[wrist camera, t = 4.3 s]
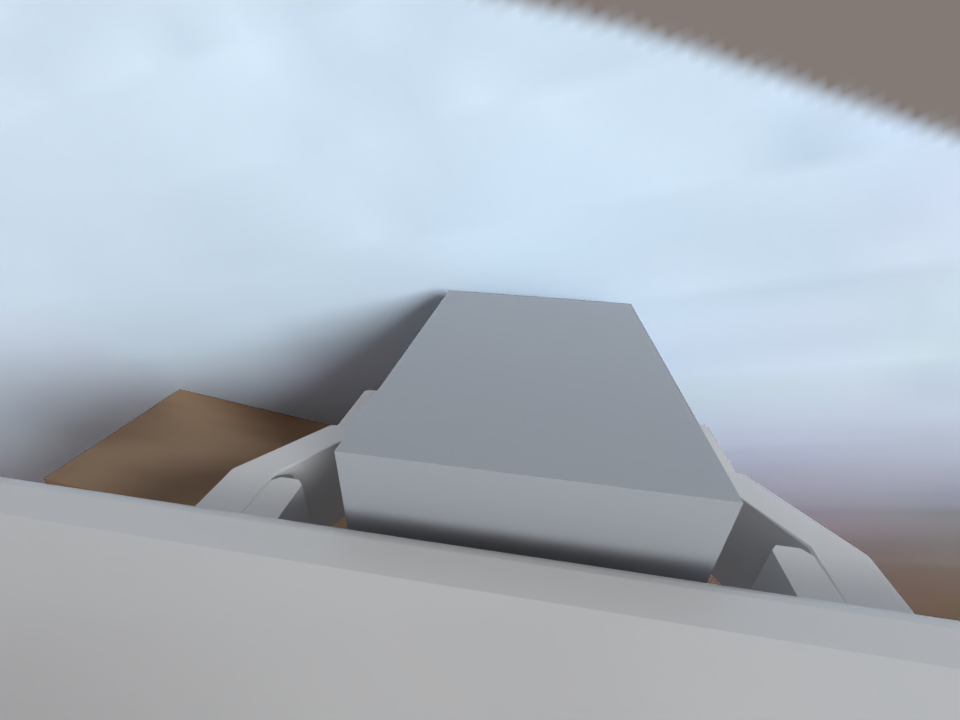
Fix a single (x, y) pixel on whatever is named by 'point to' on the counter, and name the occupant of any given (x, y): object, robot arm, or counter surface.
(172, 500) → the tan block
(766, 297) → the counter surface
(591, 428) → the grey plastic block
